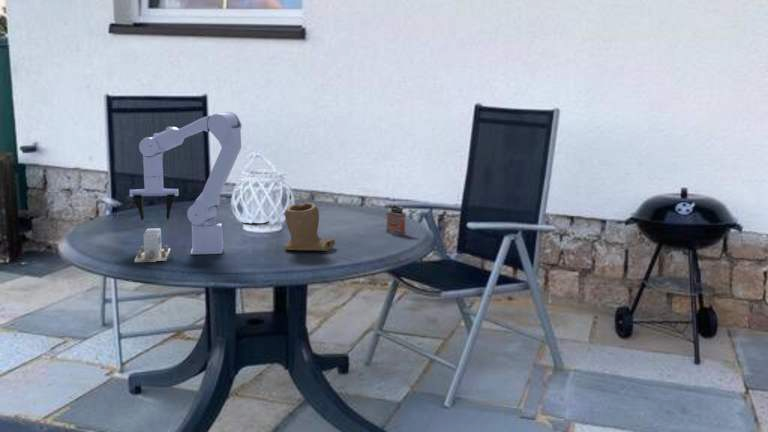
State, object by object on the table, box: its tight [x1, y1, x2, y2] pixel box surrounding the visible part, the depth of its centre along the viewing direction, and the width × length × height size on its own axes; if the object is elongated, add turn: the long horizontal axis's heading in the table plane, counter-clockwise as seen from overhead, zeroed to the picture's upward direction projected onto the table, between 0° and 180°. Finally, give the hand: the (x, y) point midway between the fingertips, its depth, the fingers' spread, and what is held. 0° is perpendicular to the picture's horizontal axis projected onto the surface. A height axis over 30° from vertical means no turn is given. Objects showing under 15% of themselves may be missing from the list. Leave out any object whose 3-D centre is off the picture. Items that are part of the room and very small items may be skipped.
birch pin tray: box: [133, 245, 172, 263], centre depth 239 cm, size 9×14×2 cm, turn 9°
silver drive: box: [143, 228, 163, 257], centre depth 239 cm, size 4×8×7 cm, turn 9°
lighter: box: [385, 203, 407, 236], centre depth 275 cm, size 8×3×10 cm, turn 47°
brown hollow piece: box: [284, 202, 336, 252], centre depth 248 cm, size 15×12×15 cm
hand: (155, 218), depth 248 cm, fingers open, 7 cm apart
